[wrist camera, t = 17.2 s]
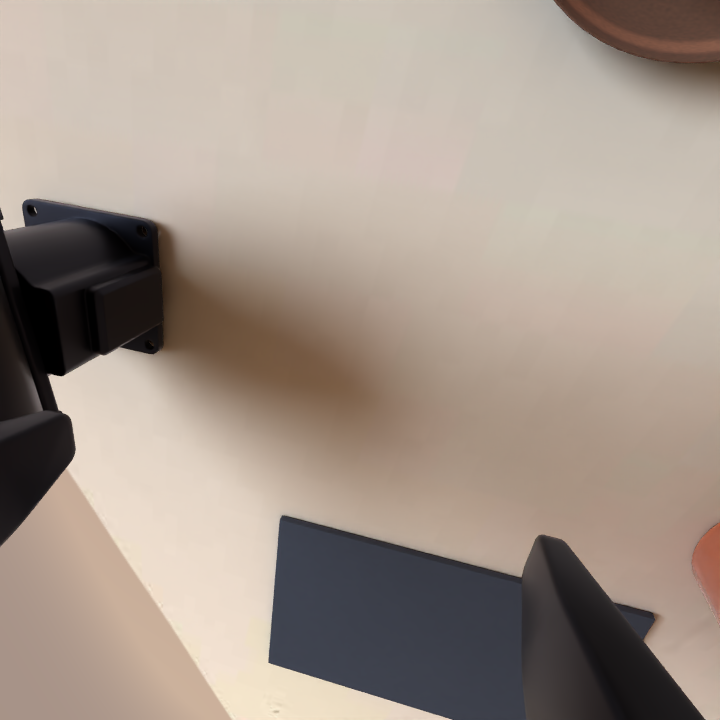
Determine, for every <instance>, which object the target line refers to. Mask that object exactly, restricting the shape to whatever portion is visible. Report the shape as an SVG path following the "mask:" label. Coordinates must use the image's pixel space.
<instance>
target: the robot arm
mask: <svg viewBox="0 0 720 720" xmlns="http://www.w3.org/2000/svg"><path fill="white" fill-rule="evenodd" d="M34 207H35V208H36V210H37V213H36V212H35V210H34ZM22 210H23V216H24V221H25V227H22V228H17V229H11V230H6V231H4V230H3V227H2V224H1V221H0V546H1V545H2V544H3V543H4V542H5V541H6V540H7V539H8V538H9V537H10V536H11V535H12V534H13V533H14V531H15V530H16V529H17V528H18V527H19V526H20V525H21V524H22V522H23V521H24V520H25V519H26V518H27V516H28V515H29V514H30V513H31V511H32V510H33V509H34V508H35V506H36V505H37V504H38V503H39V501H40V500H41V499H42V498H43V496H44V495H45V494H46V493H47V491H48V490H49V489H50V488H51V486H52V485H53V484H54V482H55V481H56V480H57V479H58V477H59V476H60V475H61V474H62V472H63V471H64V470H65V469H66V467H67V466H68V465H69V464H70V462H71V461H72V459H73V457H74V455H75V450H76V448H75V441H74V434H73V428H72V422H71V419H70V417H69V416H68V415H66V414H63V413H62V411H59V410H58V407H57V404H56V400H55V397H54V394H53V391H52V387H51V384H50V381H49V378H48V376H49V375H51V374H53V375H57V376H64V375H66V374H67V373H69V372H71V371H73V370H74V369H76V368H78V367H80V366H81V365H83V364H85V363H87V362H88V361H90V360H92V359H94V358H95V357H97V356H99V355H107V354H109V353H111V352H112V351H114V350H116V349H117V348H119V347H121V348H126V349H130V350H134V351H139V352H143V353H148V354H155V353H157V352H158V351H160V350H161V349H162V348H163V328H162V321H163V319H164V318H163V298H162V278H161V271H160V269H159V250H158V232H157V228H156V226H155V224H154V223H153V222H152V221H150V220H148V219H144V218H139V217H133V216H128V215H123V214H117V213H112V212H106V211H101V210H96V209H90V208H85V207H80V206H74V205H69V204H63V203H58V202H53V201H47V200H42V199H29V200H26V201H24V203H23V205H22ZM0 220H3V215H2V212H1V209H0ZM142 227H145V229H146V230H147V236H146V235H145V234H144V233H143V231H142ZM149 340H150V341H152V342H153V344H154V346H152V345H151V344H150V341H149ZM521 660H522V682H523V693H524V703H525V712H526V720H705V719H704V718H703V716H702V715H701V714H700V712H699V711H698V710H697V709H696V707H695V706H694V705H693V704H692V702H691V701H690V700H689V698H688V697H687V696H686V695H685V693H684V692H683V691H682V690H681V688H680V687H679V686H678V684H677V683H676V682H675V681H674V679H673V678H672V677H671V676H670V674H669V673H668V672H667V671H666V669H665V668H664V667H663V665H662V664H661V663H660V662H659V660H658V659H657V658H656V657H655V655H654V654H653V653H652V651H651V650H650V649H649V648H648V646H647V645H646V644H645V643H644V641H643V640H642V639H641V637H640V636H639V635H638V634H637V632H636V631H635V630H634V629H633V627H632V626H631V625H630V623H629V622H628V621H627V620H626V618H625V617H624V616H623V615H622V613H621V612H620V611H619V609H618V608H617V607H616V606H615V604H614V603H613V602H612V601H611V599H610V598H609V597H608V596H607V594H606V593H605V592H604V590H603V589H602V588H601V587H600V585H599V584H598V583H597V582H596V580H595V579H594V578H593V576H592V575H591V574H590V573H589V571H588V570H587V569H586V568H585V566H584V565H583V564H582V562H581V561H580V560H579V559H578V557H577V556H576V555H575V554H574V552H573V551H572V550H571V548H570V547H569V546H568V545H567V544H566V542H564V541H563V540H561V539H558V538H554V537H550V536H546V535H539V536H538V537H537V538H536V539H535V541H534V544H533V546H532V549H531V551H530V554H529V556H528V559H527V561H526V564H525V566H524V570H523V575H522V646H521Z"/></svg>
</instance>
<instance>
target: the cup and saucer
mask: <svg viewBox="0 0 720 720" xmlns="http://www.w3.org/2000/svg"><path fill="white" fill-rule="evenodd" d="M554 1H555V3H556V4H557V5H558V6H559V7H560V8H561V9H562V10H563V11H564V12H565V14H566V15H567V16H568V17H569V18H570V19H572V20H573V21H574V22H575V23H576V24H577V25H579V26H580V27H581V28H582V29H583V30H585V31H586V32H588V33H589V34H591V35H592V36H594V37H595V38H597V39H598V40H600V41H602V42H604V43H606V44H608V45H610V46H612V47H614V48H616V49H618V50H621V51H624V52H627V53H629V54H632V55H635V56H638V57H643V58H647V59H652V60H657V61H664V62H674V63H707V62H716V61H720V0H554Z"/></svg>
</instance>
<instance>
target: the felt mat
mask: <svg viewBox="0 0 720 720" xmlns="http://www.w3.org/2000/svg"><path fill="white" fill-rule="evenodd" d="M614 604H615V606H616V607H617V608H618V609H619V611H620V612H621V613H622V615H623V616H624V617H625V618H626V620H627V621H628V622H629V623H630V625H631V626H632V627H633V629H634V630H635V631H636V632H637V634H638V635H639V636H640V637H641V639H642V640H643V639H644V637H645V636H646V634H647V632H648V631H649V629H650V628H651V626H652V624H653V623H654V621H655V618H654V615H653V613H650V612H646V611H642V610H639V609H635V608H631V607H627V606H623V605H620V604H616V603H614ZM521 646H522V579H521V578H517V577H514V576H510V575H506V574H502V573H499V572H495V571H491V570H487V569H483V568H480V567H476V566H472V565H468V564H464V563H461V562H457V561H453V560H449V559H446V558H442V557H438V556H434V555H430V554H427V553H423V552H419V551H415V550H411V549H408V548H404V547H400V546H396V545H393V544H389V543H385V542H381V541H377V540H374V539H370V538H366V537H362V536H358V535H355V534H351V533H347V532H343V531H340V530H336V529H332V528H328V527H324V526H321V525H317V524H313V523H309V522H306V521H302V520H298V519H294V518H290V517H287V516H282V517H281V519H280V524H279V537H278V549H277V562H276V574H275V587H274V599H273V612H272V624H271V637H270V649H269V662H268V663H271V664H274V665H277V666H280V667H283V668H287V669H290V670H293V671H296V672H300V673H303V674H306V675H309V676H313V677H316V678H319V679H322V680H326V681H329V682H332V683H335V684H339V685H342V686H345V687H348V688H352V689H355V690H358V691H361V692H365V693H368V694H371V695H374V696H378V697H381V698H384V699H387V700H391V701H394V702H397V703H400V704H404V705H407V706H410V707H413V708H417V709H420V710H423V711H426V712H430V713H433V714H436V715H439V716H443V717H446V718H449V719H452V720H526V712H525V703H524V693H523V682H522V660H521Z"/></svg>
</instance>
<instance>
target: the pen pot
mask: <svg viewBox="0 0 720 720" xmlns="http://www.w3.org/2000/svg"><path fill="white" fill-rule="evenodd" d="M692 570H693V575H694V577H695V579H696V581H697V583H698V585H699V587H700V589H701V591H702V593H703V595H704V597H705V599H706V601H707V603H708V605H709V607H710V608H711V610H712V612H713V614H714V616H715V618H716V620H717V622H718V624H719V626H720V523H718V524H717V525H715V526H714V527H713V528H711V529H710V530H709V531H708V532H707V533H706V534H705V535H704V536H703V537H702V538H701V540H700V541H699V542H698V544H697V546H696V548H695V550H694V553H693V557H692Z"/></svg>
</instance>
